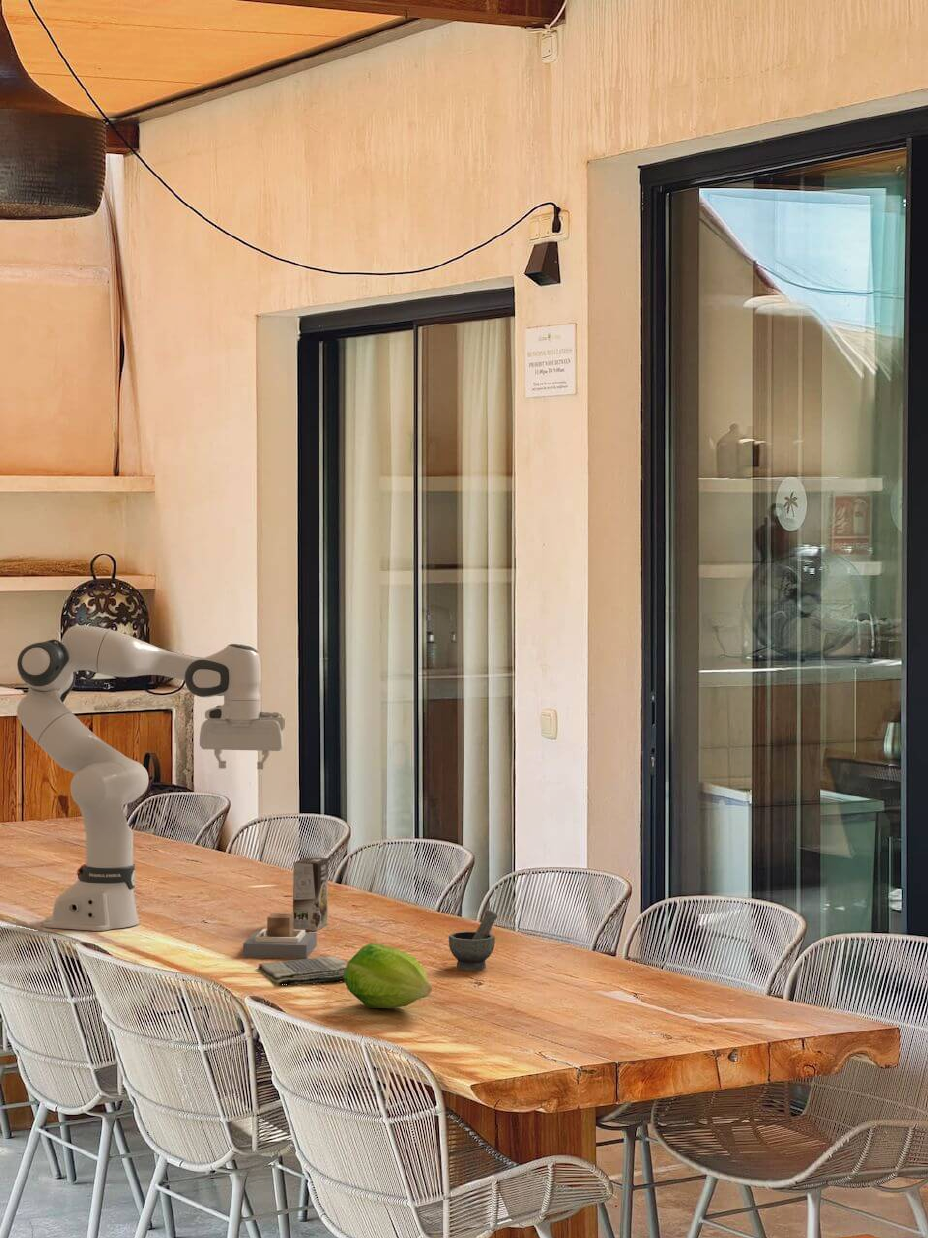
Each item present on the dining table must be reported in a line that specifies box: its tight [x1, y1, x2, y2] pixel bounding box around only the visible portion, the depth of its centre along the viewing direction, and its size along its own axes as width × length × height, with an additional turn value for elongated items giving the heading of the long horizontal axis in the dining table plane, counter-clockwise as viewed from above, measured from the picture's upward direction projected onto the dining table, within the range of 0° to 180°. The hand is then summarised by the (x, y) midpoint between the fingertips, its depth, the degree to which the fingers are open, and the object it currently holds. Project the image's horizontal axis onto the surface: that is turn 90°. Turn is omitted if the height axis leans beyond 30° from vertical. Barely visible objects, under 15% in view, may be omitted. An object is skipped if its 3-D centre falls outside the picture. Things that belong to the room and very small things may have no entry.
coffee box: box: [292, 857, 329, 932], centre depth 430 cm, size 9×6×16 cm
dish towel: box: [258, 956, 348, 987], centre depth 378 cm, size 19×18×3 cm
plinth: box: [242, 928, 318, 960], centre depth 401 cm, size 14×14×4 cm
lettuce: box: [344, 942, 433, 1009], centre depth 347 cm, size 14×20×12 cm
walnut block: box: [266, 912, 294, 937], centre depth 401 cm, size 5×5×5 cm
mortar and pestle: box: [448, 909, 498, 972], centre depth 387 cm, size 11×9×12 cm
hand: (241, 768), depth 436 cm, fingers open, 8 cm apart
